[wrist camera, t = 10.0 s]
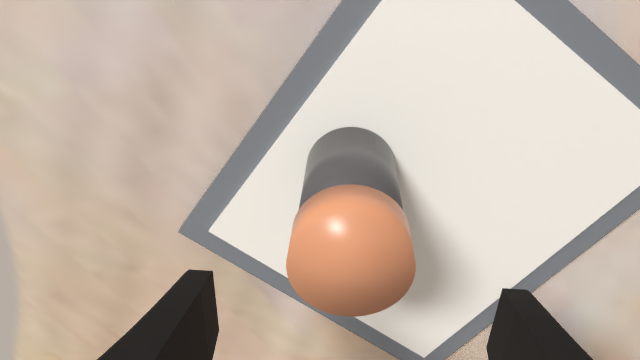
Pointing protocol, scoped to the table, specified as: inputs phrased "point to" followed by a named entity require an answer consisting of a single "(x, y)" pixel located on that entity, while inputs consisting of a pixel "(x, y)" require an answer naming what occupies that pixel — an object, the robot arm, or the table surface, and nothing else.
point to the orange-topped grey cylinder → (351, 227)
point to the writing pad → (447, 153)
